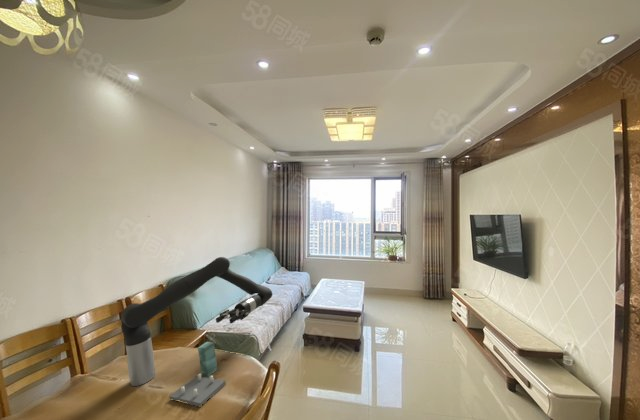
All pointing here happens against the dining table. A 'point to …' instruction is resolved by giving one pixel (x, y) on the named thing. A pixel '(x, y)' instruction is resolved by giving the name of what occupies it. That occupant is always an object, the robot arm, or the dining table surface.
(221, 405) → the dining table surface
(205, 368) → the teal post
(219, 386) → the peg plate
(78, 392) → the dining table surface
